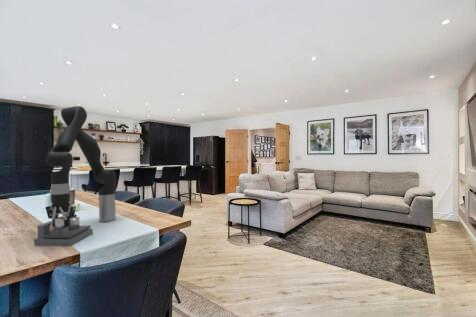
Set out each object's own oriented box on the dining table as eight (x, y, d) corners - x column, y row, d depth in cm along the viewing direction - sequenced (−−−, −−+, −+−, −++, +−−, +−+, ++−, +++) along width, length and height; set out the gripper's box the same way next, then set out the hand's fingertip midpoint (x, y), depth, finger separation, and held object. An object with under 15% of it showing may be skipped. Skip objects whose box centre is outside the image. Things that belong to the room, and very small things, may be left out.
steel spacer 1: (52, 229, 115) (52, 218, 115) (60, 226, 120) (60, 216, 120) (62, 229, 115) (62, 218, 115) (70, 226, 120) (69, 216, 120)
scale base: (60, 234, 130) (59, 217, 130) (92, 234, 130) (92, 217, 129) (34, 245, 114) (33, 227, 114) (71, 245, 114) (70, 227, 113)
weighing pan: (66, 227, 129) (66, 225, 129) (90, 227, 129) (90, 225, 129) (43, 237, 114) (43, 235, 114) (69, 237, 114) (69, 235, 114)
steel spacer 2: (65, 229, 123) (65, 219, 123) (71, 226, 128) (71, 216, 128) (76, 229, 123) (75, 219, 123) (81, 226, 128) (81, 216, 128)
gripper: (39, 193, 113) (40, 229, 114) (69, 193, 113) (70, 229, 113) (52, 191, 121) (53, 224, 121) (80, 191, 121) (80, 224, 121)
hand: (61, 226), depth 117 cm, fingers closed on steel spacer 1, 5 cm apart
